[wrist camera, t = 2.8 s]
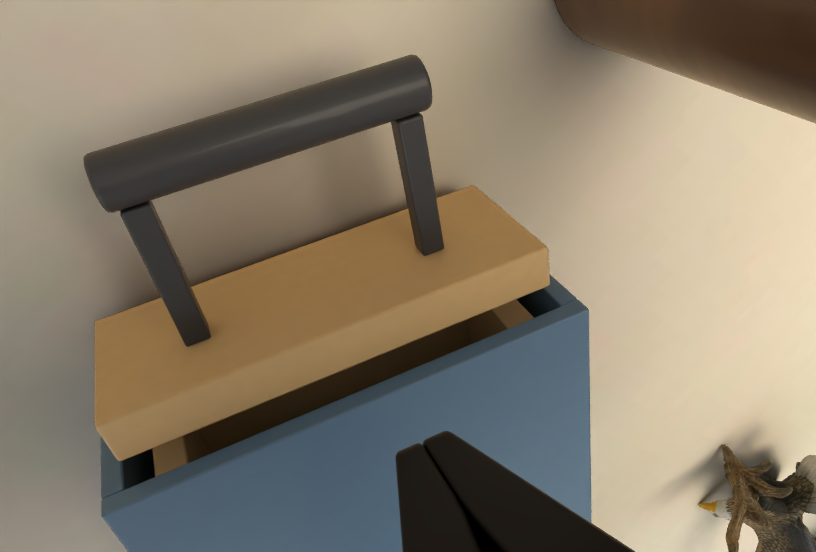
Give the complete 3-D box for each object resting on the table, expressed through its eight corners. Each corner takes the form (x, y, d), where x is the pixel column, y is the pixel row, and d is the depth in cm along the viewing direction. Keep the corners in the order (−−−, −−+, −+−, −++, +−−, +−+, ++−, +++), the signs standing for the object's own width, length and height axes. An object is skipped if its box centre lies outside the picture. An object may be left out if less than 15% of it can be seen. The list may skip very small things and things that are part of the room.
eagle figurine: (651, 534, 33) (723, 604, 37) (805, 577, 28) (870, 655, 32) (694, 404, 36) (756, 482, 41) (839, 420, 31) (895, 509, 35)
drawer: (-9, 147, 14) (-40, 230, 11) (451, 11, 16) (538, 47, 13) (253, 591, 24) (277, 699, 21) (509, 469, 27) (565, 550, 23)
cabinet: (99, 360, 18) (100, 516, 14) (485, 215, 21) (590, 308, 16) (254, 614, 26) (286, 762, 22) (517, 487, 29) (592, 597, 24)
